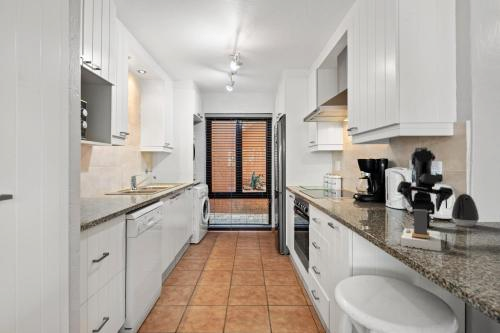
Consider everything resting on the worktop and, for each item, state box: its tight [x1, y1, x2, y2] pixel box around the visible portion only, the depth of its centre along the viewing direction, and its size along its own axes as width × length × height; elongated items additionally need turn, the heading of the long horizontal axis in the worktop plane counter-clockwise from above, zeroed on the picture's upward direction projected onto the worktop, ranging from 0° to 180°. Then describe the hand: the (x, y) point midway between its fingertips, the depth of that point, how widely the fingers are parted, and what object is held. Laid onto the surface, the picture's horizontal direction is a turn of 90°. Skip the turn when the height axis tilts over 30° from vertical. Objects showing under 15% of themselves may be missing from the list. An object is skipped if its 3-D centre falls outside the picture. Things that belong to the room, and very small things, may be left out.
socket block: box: [400, 227, 442, 252], centre depth 104 cm, size 17×12×4 cm
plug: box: [412, 209, 429, 239], centre depth 101 cm, size 5×5×13 cm
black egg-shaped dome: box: [451, 193, 480, 228], centre depth 129 cm, size 10×10×15 cm
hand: (424, 209), depth 108 cm, fingers open, 9 cm apart
